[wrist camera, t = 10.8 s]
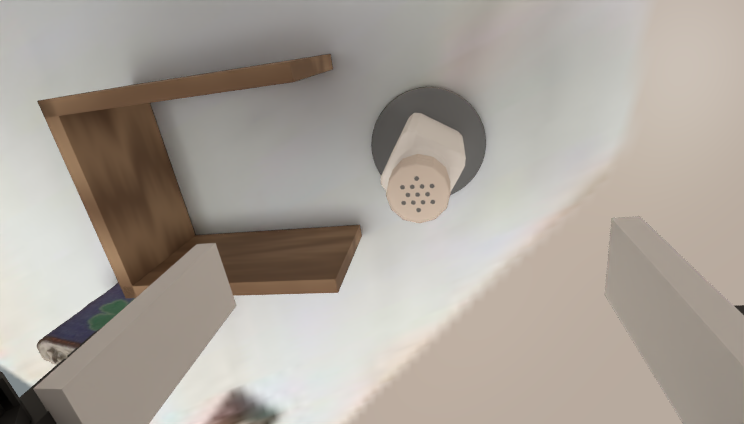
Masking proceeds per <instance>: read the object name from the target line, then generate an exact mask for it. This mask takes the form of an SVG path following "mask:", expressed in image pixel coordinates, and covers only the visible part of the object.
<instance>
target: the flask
mask: <svg viewBox="0 0 744 424" xmlns="http://www.w3.org/2000/svg"><path fill="white" fill-rule="evenodd" d="M134 299H135V298H125V296H124V294H123V291H122V289H121V287H120V285H119V282H118V283H117V284H116V285H115V286H114V287H112V288H111V289H110V290H108V291H107V292H106V293H105V294H103V295H102V296H100V297H99V298H97V299H96V300H94V301H93V302H91V303H89V304H88V305H87V306H86V307H84V308H83V309H82V310H81V311H80V312H78V313H77V314H75V315H74V316H73V317H71V318H70V319H69V320H67V321H66V322H64V323H63V324H61V325H60V326H59V327H57V328H56V329H55V330H53V331H52V332H50V333H49V334H47V335H46V336H45V337H44V338H43V339H41V340H40V341H39V342H38V343H37V348H38V350H39V353H40V354H41V356H42V357H43V358H44V359H45V360H46V361H50V362H51V363H52V364H56V365H57V364H58V363H60V362H61V361H62V360H63V359H67V356H68V355H69V354H70V353H71V352H72V351H73V350H74V349H76V348H79V347H80V344H81V343H82V342H84V341H85V340H86V339H87V338H88V337H89V336H90V335H92V334H93V333H94V332H95V331H97V330H99V329H100V328H102V327H103V326H105V325H106V324H107V323H108V322H109V321H110V320H111V319H113V318H114V317H115V316H116V315H117V314H118V313H119V312H120V311H122V310H123V309H124V308H125V307H126V306H127V305H128V304H130V303H131V302H132V301H133V300H134Z"/></svg>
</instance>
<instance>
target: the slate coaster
mask: <svg viewBox="0 0 744 424" xmlns="http://www.w3.org/2000/svg"><path fill="white" fill-rule="evenodd" d="M413 113H422V114H424V115H426V116H428V117H430V118H432V119H434V120H436V121H438V122H440V123H442V124H444V125H446V126H448V127H450V128H452V129H454V130H456V131H458V132H459V133H460V134H461V135H462V136H463V143H464V149H465V156H466V160H465V167H464V169H463V171H462V173H461V175H460V176H459V178H458V180H457V182H456V184H455V185H454V187H453V189H452V191H451V193H450V195H451V194H453V193H455V192H457V191H459V190H460V189H462V188H463V187H465V186H466V185H467V184H468V183H469V182H470V181H471V180H472V179H473V177H474V176H475V175H476V173H477V172H478V170H479V168H480V166H481V164H482V161H483V158H484V154H485V148H486V139H485V132H484V128H483V125H482V122H481V120H480V117H479V116H478V114H477V112H476V111H475V109H474V108H473V107H472V106H471V104H469V103H468V102H467V101H466V100H465V99H464V98H462V97H461V96H460V95H458V94H456V93H454V92H452V91H449V90H446V89H442V88H437V87H422V88H417V89H413V90H410V91H407V92H405V93H403V94H401V95H400V96H398V97H397V98H395V99H394V100H393V101H392V102H390V103H389V104H388V105H387V107H386V108H385V109H384V110H383V111H382V113H381V114H380V116H379V118H378V120H377V122H376V124H375V127H374V130H373V134H372V145H371V146H372V154H373V159H374V162H375V165H376V167H377V169H378V171H379V173H380V174H381V175H382V173H383V171H384V169H385V167H386V164H387V162H388V160H389V158H390V156H391V153H392V151H393V149H394V147H395V145H396V143H397V141H398V139H399V137H400V135H401V133H402V131H403V129H404V127H405V125H406V122H407V120H408V118H409V117H410V116H411V115H412V114H413Z"/></svg>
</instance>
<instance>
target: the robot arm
mask: <svg viewBox="0 0 744 424" xmlns="http://www.w3.org/2000/svg"><path fill="white" fill-rule="evenodd" d="M605 296H606V298H607V300H608V301H609V303H610V305H611V306H612V308H613V310H614V311H615V313H616V314H617V316H618V318H619V320H620V321H621V323H622V324H623V326H624V328H625V329H626V331H627V333H628V334H629V336H630V337H631V339H632V341H633V343H634V344H635V346H636V347H637V349H638V351H639V352H640V354H641V356H642V357H643V359H644V360H645V362H646V364H647V365H648V367H649V369H650V370H651V372H652V374H653V375H654V377H655V378H656V380H657V382H658V384H659V385H660V387H661V389H662V390H663V392H664V394H665V395H666V397H667V398H668V400H669V402H670V403H671V405H672V406H673V408H674V410H675V411H676V413H677V415H678V417H679V418H680V420H681V421H682V423H683V424H744V305H742V306H734V305H732V304H731V303H730V302H729V301H728V300H727V299H726V298H725V297H724V296H723V295H722V294H721V293H720V292H719V291H718V290H717V289H716V288H715V287H714V286H713V285H711V284H710V283H709V282H708V281H707V280H706V279H705V278H704V277H703V276H702V275H701V274H700V273H699V272H698V271H697V270H696V269H695V268H694V267H693V266H692V265H690V264H689V263H688V262H687V261H686V260H685V259H684V258H683V257H682V256H681V255H680V254H679V253H678V252H677V251H676V250H675V249H674V248H673V247H672V246H670V244H668V243H667V242H666V241H665V240H664V239H663V238H662V237H661V236H660V235H659V234H658V233H657V232H656V231H655V230H654V229H653V228H652V227H651V226H650V225H649V224H647V223H646V222H645V221H644V220H643V219H642V218H641V217H640V216H637V217H622V218H612V219H611V230H610V241H609V251H608V262H607V274H606V285H605ZM235 307H236V303H235V300H234V297H233V294H232V291H231V288H230V285H229V282H228V279H227V276H226V273H225V270H224V267H223V264H222V261H221V258H220V255H219V252H218V249H217V246H216V243H207V244H196V245H195V246H194V247H193V248H192V249H191V250H190V251H188V252H187V253H186V254H185V255H184V256H183V257H182V258H181V259H179V260H178V261H177V262H176V263H175V264H174V265H173V266H171V267H170V268H169V269H168V270H167V271H166V272H165V273H164V274H162V275H161V276H160V277H159V278H158V279H157V280H156V281H154V282H153V283H152V284H151V285H150V286H149V287H148V288H147V289H145V290H144V291H143V292H142V293H141V294H140V295H139V296H137V297H136V298H135V299H134V300H133V301H132V302H131V303H130V304H128V305H127V306H126V307H125V308H124V309H123V310H122V311H120V312H119V313H118V314H117V315H116V316H115V317H114V318H113V319H111V320H110V321H109V322H108V323H107V324H106V325H105V326H103V327H102V328H100V329H99V330H97V331H95V332H94V333H93V334H92V335H90V336H89V337H88V338H87V339H86V340H85V341H84V342H82V343H81V344H80V347H79V348H76V349H74V350H73V351H72V352H71V353H70V354H69V355H68V356H67V359H63V360H62V361H61V362H60V363H58V364H57V365H56V366H55V367H54V368H53V369H52V370H51V371H49V372H48V373H47V374H46V375H45V376H44V377H43V378H41V379H40V380H39V381H38V382H37V383H36V384H35V385H33V386H32V387H31V388H30V389H29V390H28V391H27V392H25V393H24V394H23V395H22V396H21V397H20V398H19V397H18V395H17V394H16V392H15V391H14V389H13V388H12V386H11V385H10V383H9V382H8V380H7V379H6V377H5V376H4V374H3V373H2V372H0V424H149V423H150V421H151V420H152V419H153V417H154V416H155V415H156V413H157V412H158V411H159V409H160V408H161V407H162V405H163V404H164V403H165V401H166V400H167V399H168V397H169V396H170V394H171V393H172V392H173V390H174V389H175V388H176V386H177V385H178V384H179V382H180V381H181V380H182V378H183V377H184V376H185V374H186V373H187V372H188V370H189V369H190V367H191V366H192V365H193V363H194V362H195V361H196V359H197V358H198V357H199V355H200V354H201V353H202V351H203V350H204V349H205V347H206V346H207V344H208V343H209V342H210V340H211V339H212V338H213V336H214V335H215V334H216V332H217V331H218V330H219V328H220V327H221V326H222V324H223V323H224V322H225V320H226V319H227V317H228V316H229V315H230V313H231V312H232V311H233V309H234V308H235Z"/></svg>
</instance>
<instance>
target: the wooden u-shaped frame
mask: <svg viewBox="0 0 744 424" xmlns="http://www.w3.org/2000/svg"><path fill="white" fill-rule="evenodd" d="M332 69H333V67H332V61H331V55H330V54H327V55H320V56H314V57H308V58H301V59H295V60H288V61H282V62H276V63H269V64H263V65H256V66H250V67H244V68H237V69H231V70H225V71H218V72H212V73H205V74H199V75H193V76H186V77H180V78H173V79H167V80H161V81H154V82H148V83H141V84H135V85H129V86H123V87H117V88H111V89H105V90H99V91H93V92H87V93H81V94H75V95H69V96H63V97H58V98H52V99H46V100H40V101H38V104H39V106H40V108H41V110H42V113H43V115H44V117H45V119H46V122H47V124H48V126H49V128H50V131H51V133H52V135H53V137H54V139H55V142H56V144H57V146H58V148H59V151H60V153H61V155H62V157H63V160H64V162H65V164H66V166H67V168H68V171H69V173H70V175H71V177H72V180H73V182H74V184H75V186H76V189H77V191H78V193H79V195H80V198H81V200H82V202H83V204H84V206H85V209H86V211H87V213H88V215H89V218H90V220H91V222H92V224H93V227H94V229H95V231H96V233H97V235H98V238H99V240H100V242H101V244H102V247H103V249H104V251H105V253H106V256H107V258H108V260H109V262H110V264H111V267H112V269H113V271H114V273H115V276H116V278H117V280H118V282H119V285H120V287H121V289H122V291H123V294H124V296H125V298H136V297H137V296H139V295H140V294H141V293H142V292H143V291H144V290H145V289H147V288H148V287H149V286H150V285H151V284H152V283H153V282H154V281H156V280H157V279H158V278H159V277H160V276H161V275H162V274H164V273H165V272H166V271H167V270H168V269H169V268H170V267H171V266H173V265H174V264H175V263H176V262H177V261H178V260H179V259H181V258H182V257H183V256H184V255H185V254H186V253H187V252H188V251H190V250H191V249H192V248H193V247H194V246H195V245H196V244H207V243H216V246H217V249H218V252H219V255H220V258H221V261H222V264H223V267H224V270H225V273H226V276H227V279H228V282H229V285H230V288H231V291H232V294H233V295H268V294H305V293H338V292H339V289H340V287H341V285H342V282H343V280H344V277H345V275H346V273H347V270H348V268H349V265H350V263H351V261H352V258H353V256H354V253H355V251H356V249H357V246H358V244H359V241H360V239H361V237H362V234H361V229H360V225H351V226H335V227H319V228H303V229H287V230H271V231H255V232H240V233H224V234H208V235H195V232H194V230H193V227H192V224H191V221H190V218H189V215H188V212H187V209H186V206H185V204H184V201H183V198H182V195H181V192H180V189H179V186H178V183H177V180H176V178H175V175H174V172H173V169H172V166H171V163H170V160H169V157H168V154H167V152H166V149H165V146H164V143H163V140H162V137H161V134H160V131H159V128H158V125H157V123H156V120H155V117H154V114H153V111H152V108H151V105H150V103H151V102H158V101H165V100H172V99H179V98H186V97H193V96H200V95H207V94H214V93H221V92H228V91H235V90H242V89H249V88H256V87H262V86H269V85H276V84H283V83H290V82H295V81H298V80H301V79H305V78H308V77H311V76H314V75H317V74H320V73H323V72H326V71H329V70H332Z"/></svg>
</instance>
